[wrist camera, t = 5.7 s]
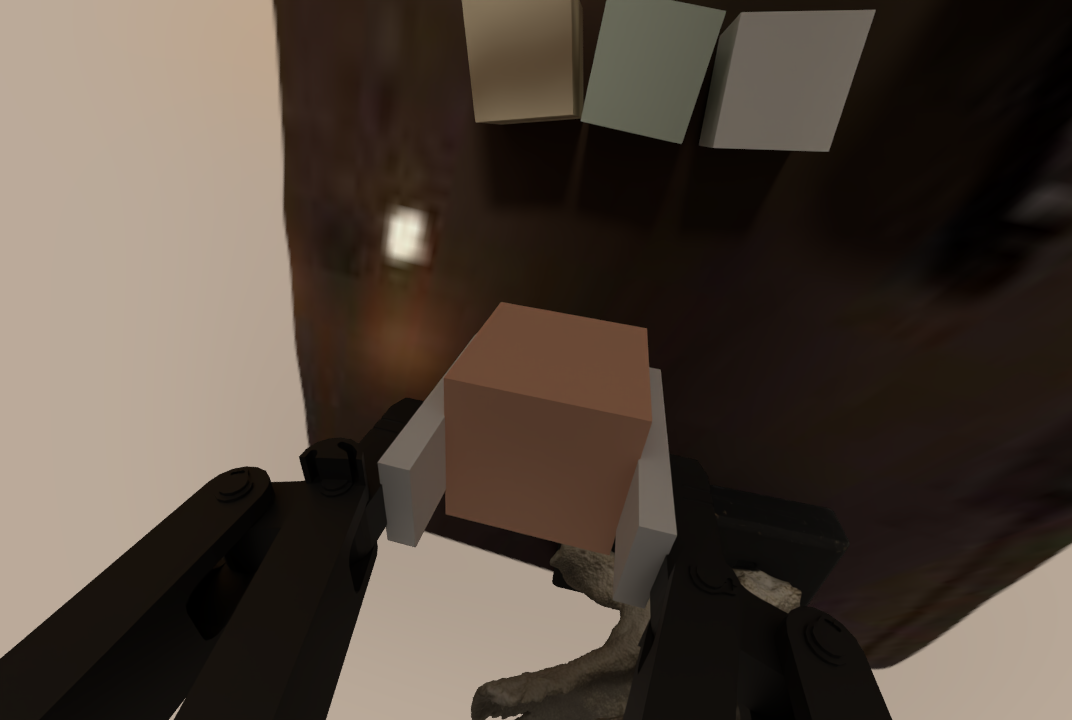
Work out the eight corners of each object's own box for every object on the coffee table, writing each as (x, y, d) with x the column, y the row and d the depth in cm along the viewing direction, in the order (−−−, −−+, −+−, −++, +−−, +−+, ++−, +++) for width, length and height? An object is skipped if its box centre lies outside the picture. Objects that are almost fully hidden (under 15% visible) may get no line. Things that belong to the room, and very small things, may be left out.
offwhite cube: (719, 36, 21) (741, 12, 17) (824, 35, 20) (875, 9, 16) (698, 145, 24) (713, 147, 19) (791, 148, 23) (828, 151, 19)
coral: (524, 544, 44) (446, 841, 25) (548, 386, 34) (447, 690, 15) (768, 607, 41) (881, 997, 22) (876, 454, 31) (1244, 937, 12)
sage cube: (613, 16, 22) (609, -13, 18) (707, 35, 21) (726, 11, 17) (589, 123, 24) (580, 121, 20) (672, 142, 24) (681, 144, 20)
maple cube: (493, 21, 23) (461, -5, 19) (583, 9, 22) (570, -21, 18) (502, 124, 25) (475, 122, 21) (583, 118, 24) (573, 114, 20)
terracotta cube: (500, 301, 14) (443, 377, 10) (646, 328, 14) (652, 421, 9) (493, 415, 17) (445, 514, 12) (616, 442, 16) (609, 555, 12)
